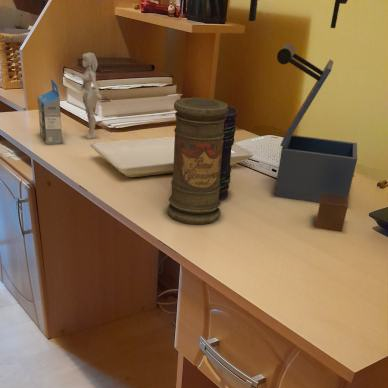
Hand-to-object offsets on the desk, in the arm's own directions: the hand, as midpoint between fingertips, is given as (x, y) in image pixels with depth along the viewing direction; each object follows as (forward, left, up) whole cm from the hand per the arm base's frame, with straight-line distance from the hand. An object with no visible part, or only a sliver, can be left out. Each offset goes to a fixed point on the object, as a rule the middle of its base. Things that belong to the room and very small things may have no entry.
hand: (291, 24), depth 87 cm
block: (-13, +14, -28) cm, 34 cm away
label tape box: (+53, -13, -28) cm, 61 cm away
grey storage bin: (-9, -2, -28) cm, 29 cm away
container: (+10, +19, -28) cm, 36 cm away
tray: (+22, -6, -28) cm, 36 cm away
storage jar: (+11, +8, -28) cm, 32 cm away
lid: (-5, -2, -12) cm, 13 cm away
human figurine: (+45, -19, -28) cm, 57 cm away
